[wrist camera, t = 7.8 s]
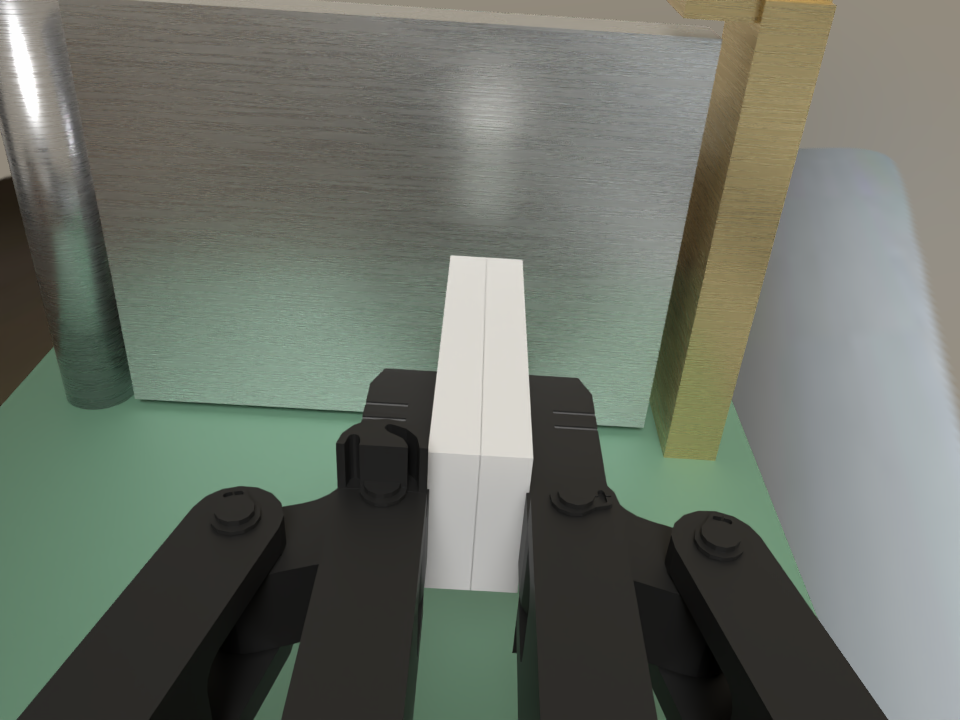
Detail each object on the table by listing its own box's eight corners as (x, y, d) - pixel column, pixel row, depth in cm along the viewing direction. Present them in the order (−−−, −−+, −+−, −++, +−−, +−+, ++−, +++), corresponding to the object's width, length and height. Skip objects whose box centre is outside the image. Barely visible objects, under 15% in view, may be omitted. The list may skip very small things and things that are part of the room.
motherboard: (-234, 751, 17) (-265, 705, 16) (156, 269, 35) (150, 237, 35) (856, 818, 17) (879, 775, 16) (674, 304, 36) (681, 272, 35)
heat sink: (46, 417, 24) (-88, -85, 17) (174, 255, 33) (121, -113, 27) (715, 460, 24) (843, -21, 17) (658, 286, 34) (726, -71, 27)
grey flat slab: (134, 398, 25) (56, -5, 19) (152, 371, 26) (84, -15, 20) (643, 427, 25) (722, 39, 19) (636, 399, 26) (708, 26, 20)
